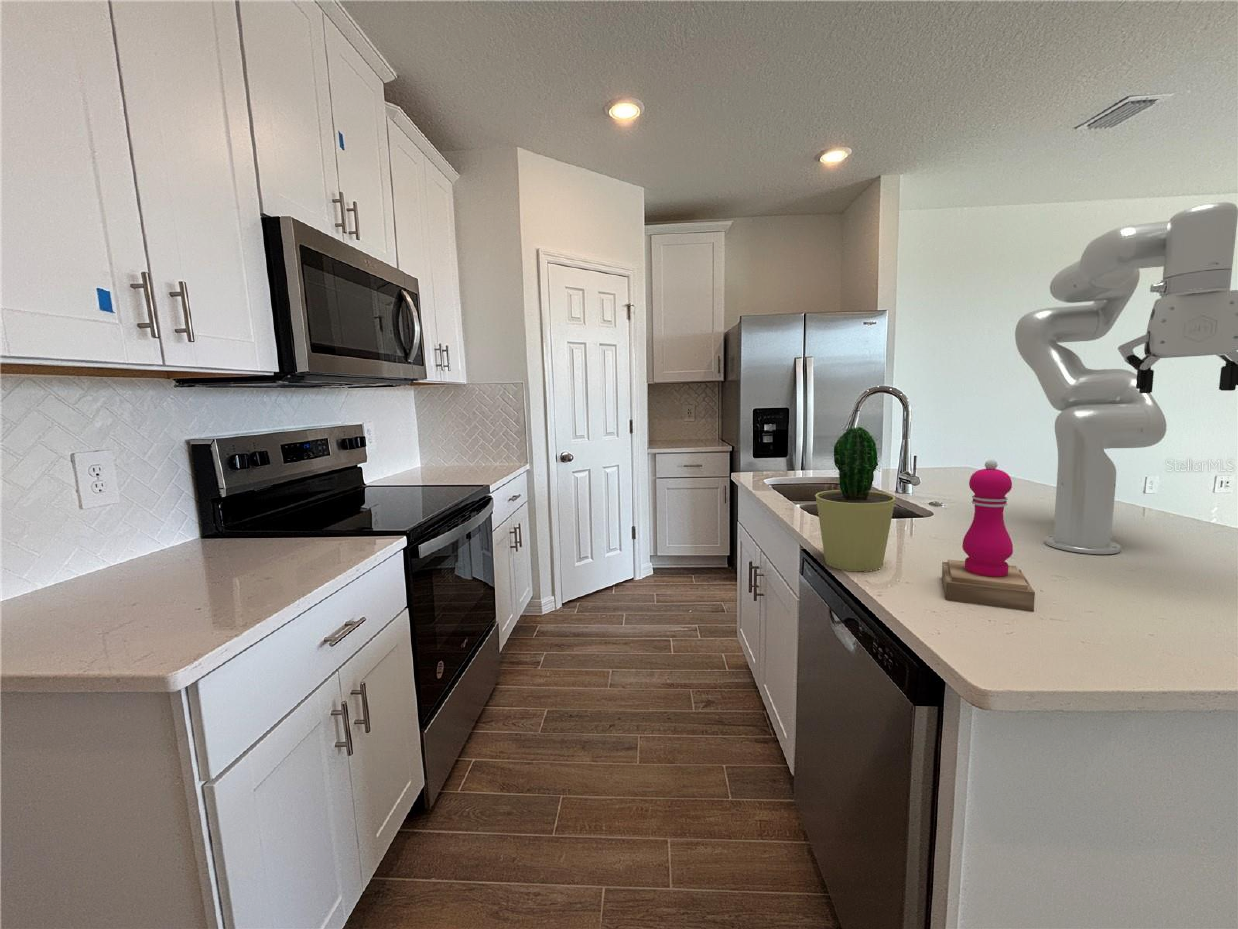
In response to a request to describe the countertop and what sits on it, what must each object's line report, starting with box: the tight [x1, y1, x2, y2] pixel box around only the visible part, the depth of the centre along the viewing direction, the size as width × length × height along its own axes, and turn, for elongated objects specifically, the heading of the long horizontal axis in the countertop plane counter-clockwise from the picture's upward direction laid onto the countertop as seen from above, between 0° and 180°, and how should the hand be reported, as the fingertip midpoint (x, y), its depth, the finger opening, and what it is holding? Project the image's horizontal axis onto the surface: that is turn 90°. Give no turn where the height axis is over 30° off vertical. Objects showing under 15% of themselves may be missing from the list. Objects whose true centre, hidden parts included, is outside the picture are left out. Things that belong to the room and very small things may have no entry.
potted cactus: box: [814, 424, 896, 573], centre depth 107 cm, size 15×15×30 cm
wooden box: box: [941, 559, 1036, 612], centre depth 90 cm, size 12×12×4 cm
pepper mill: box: [962, 459, 1014, 577], centre depth 88 cm, size 7×7×20 cm
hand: (1184, 391), depth 85 cm, fingers open, 9 cm apart
